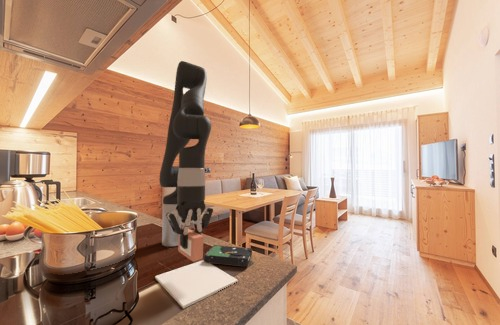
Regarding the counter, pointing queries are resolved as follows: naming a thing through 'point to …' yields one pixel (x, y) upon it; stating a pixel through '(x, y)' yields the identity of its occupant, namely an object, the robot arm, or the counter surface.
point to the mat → (194, 282)
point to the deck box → (192, 246)
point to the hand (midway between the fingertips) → (190, 246)
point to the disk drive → (228, 255)
